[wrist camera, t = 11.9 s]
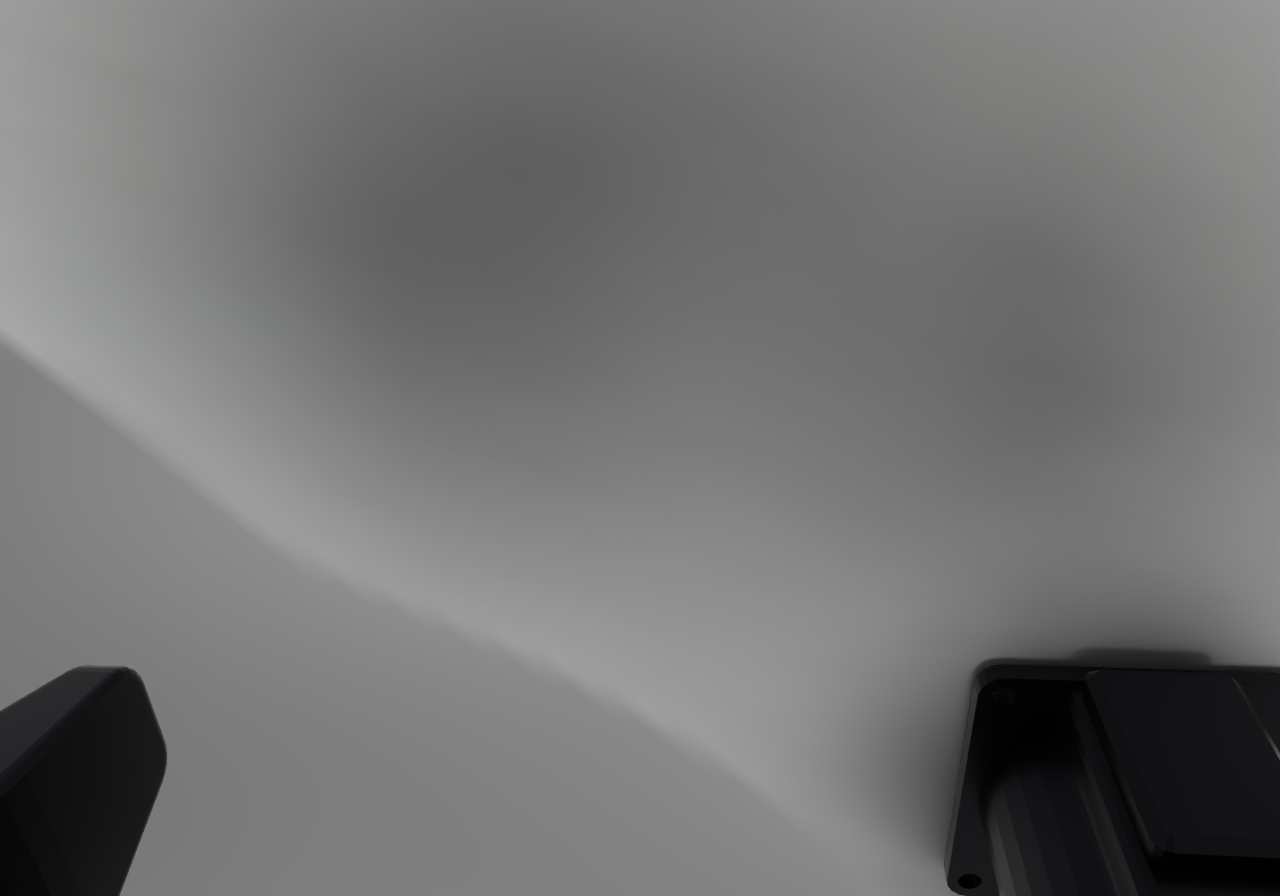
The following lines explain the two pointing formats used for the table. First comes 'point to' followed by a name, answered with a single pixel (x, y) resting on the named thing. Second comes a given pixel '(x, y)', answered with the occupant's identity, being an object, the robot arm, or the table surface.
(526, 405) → the table surface
